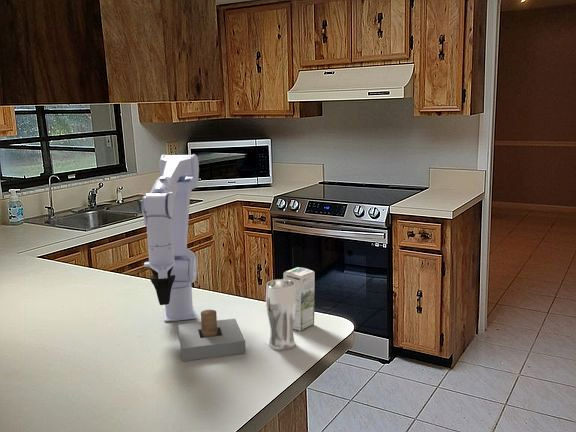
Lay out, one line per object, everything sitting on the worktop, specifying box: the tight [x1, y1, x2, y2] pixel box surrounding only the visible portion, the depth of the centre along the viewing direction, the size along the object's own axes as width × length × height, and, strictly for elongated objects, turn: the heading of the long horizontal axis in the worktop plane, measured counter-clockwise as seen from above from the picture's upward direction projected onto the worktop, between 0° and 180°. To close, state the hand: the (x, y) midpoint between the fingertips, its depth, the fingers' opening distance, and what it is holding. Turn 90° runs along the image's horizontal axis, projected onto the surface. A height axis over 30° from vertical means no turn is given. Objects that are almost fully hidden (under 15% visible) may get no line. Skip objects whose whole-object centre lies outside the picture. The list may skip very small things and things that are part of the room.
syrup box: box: [282, 266, 316, 332], centre depth 137 cm, size 6×6×14 cm
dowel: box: [200, 309, 218, 338], centre depth 128 cm, size 4×4×8 cm
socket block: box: [177, 318, 246, 362], centre depth 128 cm, size 14×14×3 cm
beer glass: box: [265, 278, 296, 351], centre depth 126 cm, size 7×7×15 cm
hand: (163, 298), depth 131 cm, fingers open, 7 cm apart
